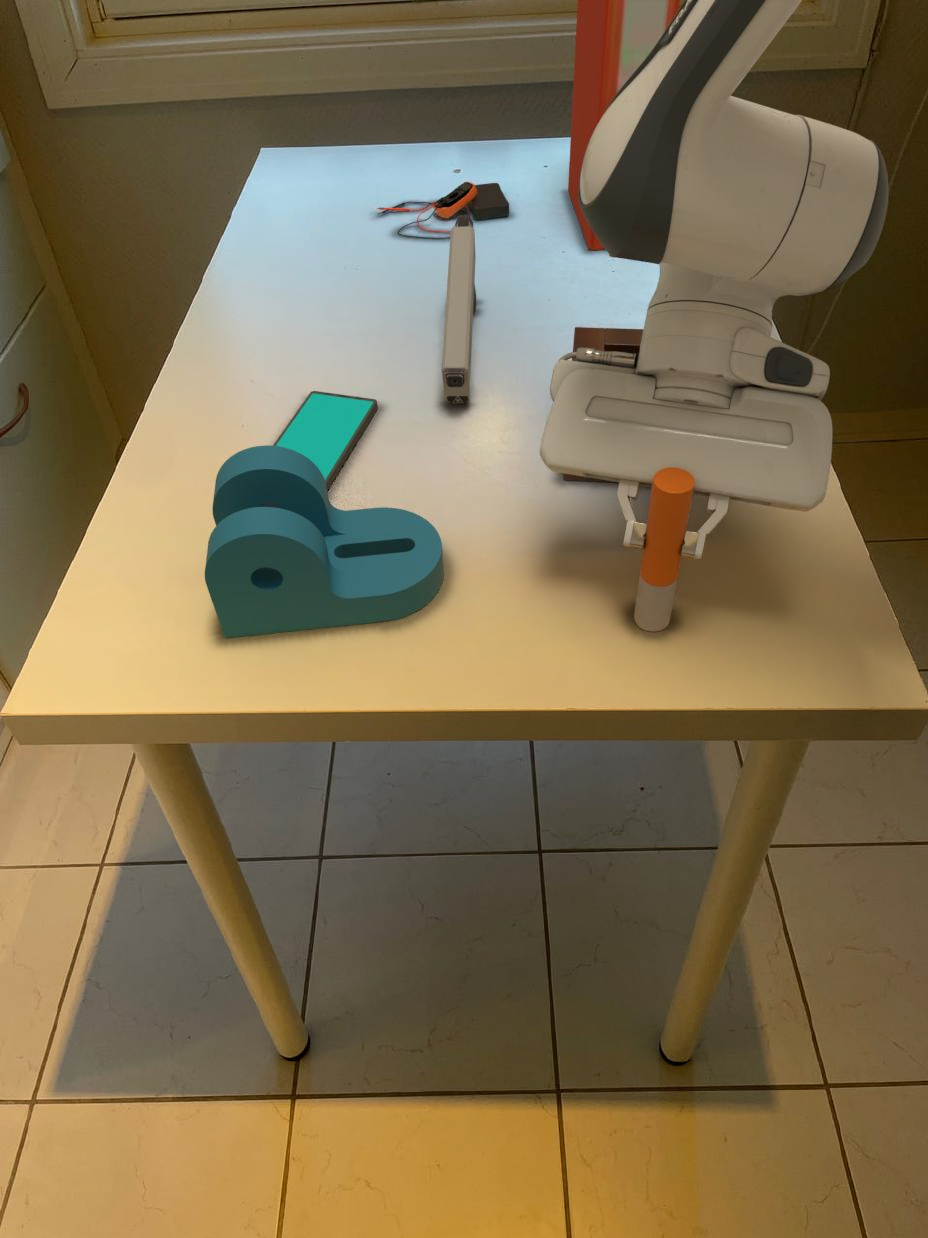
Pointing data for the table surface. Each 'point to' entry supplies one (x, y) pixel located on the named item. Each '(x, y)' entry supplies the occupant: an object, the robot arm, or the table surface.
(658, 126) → the robot arm
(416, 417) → the table surface
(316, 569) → the camera mount
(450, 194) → the multimeter
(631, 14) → the file binder
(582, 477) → the pen stand
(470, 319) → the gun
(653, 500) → the orange cylinder rod
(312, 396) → the smartphone
